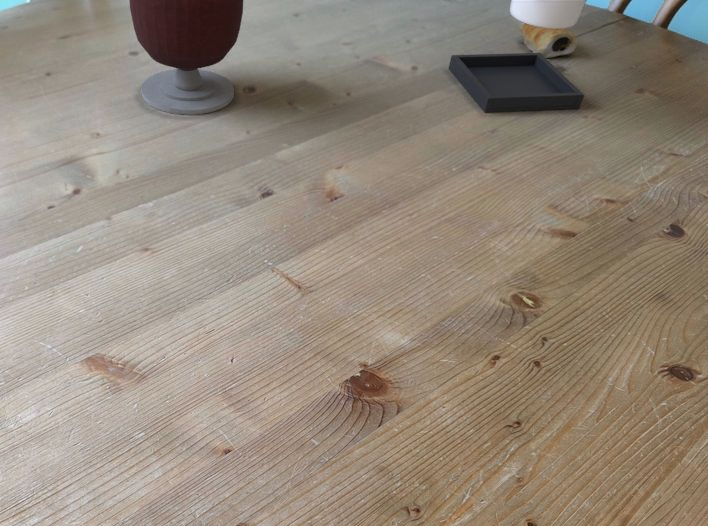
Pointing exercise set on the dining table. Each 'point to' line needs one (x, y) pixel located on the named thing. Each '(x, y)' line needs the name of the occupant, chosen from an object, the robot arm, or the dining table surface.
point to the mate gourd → (187, 51)
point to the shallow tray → (514, 82)
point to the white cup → (547, 12)
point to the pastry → (548, 40)
